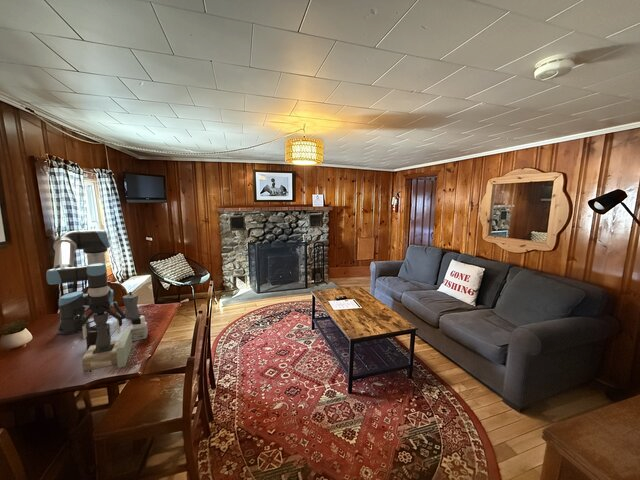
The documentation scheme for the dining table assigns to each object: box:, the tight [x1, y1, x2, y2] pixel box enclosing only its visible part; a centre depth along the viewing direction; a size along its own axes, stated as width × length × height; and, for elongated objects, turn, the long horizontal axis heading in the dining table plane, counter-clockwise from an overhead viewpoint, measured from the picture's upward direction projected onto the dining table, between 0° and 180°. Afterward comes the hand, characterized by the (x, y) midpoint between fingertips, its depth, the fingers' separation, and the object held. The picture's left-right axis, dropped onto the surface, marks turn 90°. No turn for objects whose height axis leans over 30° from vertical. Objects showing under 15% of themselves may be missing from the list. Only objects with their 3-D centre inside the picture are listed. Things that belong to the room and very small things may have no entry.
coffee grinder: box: [74, 315, 112, 351], centre depth 151 cm, size 16×11×18 cm
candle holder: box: [92, 312, 112, 353], centre depth 136 cm, size 6×6×25 cm
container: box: [129, 314, 149, 342], centre depth 161 cm, size 8×8×13 cm
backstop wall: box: [116, 328, 133, 369], centre depth 141 cm, size 22×3×10 cm, turn 28°
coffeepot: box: [122, 291, 141, 319], centre depth 192 cm, size 15×9×18 cm, turn 44°
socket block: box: [81, 339, 120, 372], centre depth 137 cm, size 14×14×6 cm
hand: (102, 334), depth 136 cm, fingers open, 13 cm apart
